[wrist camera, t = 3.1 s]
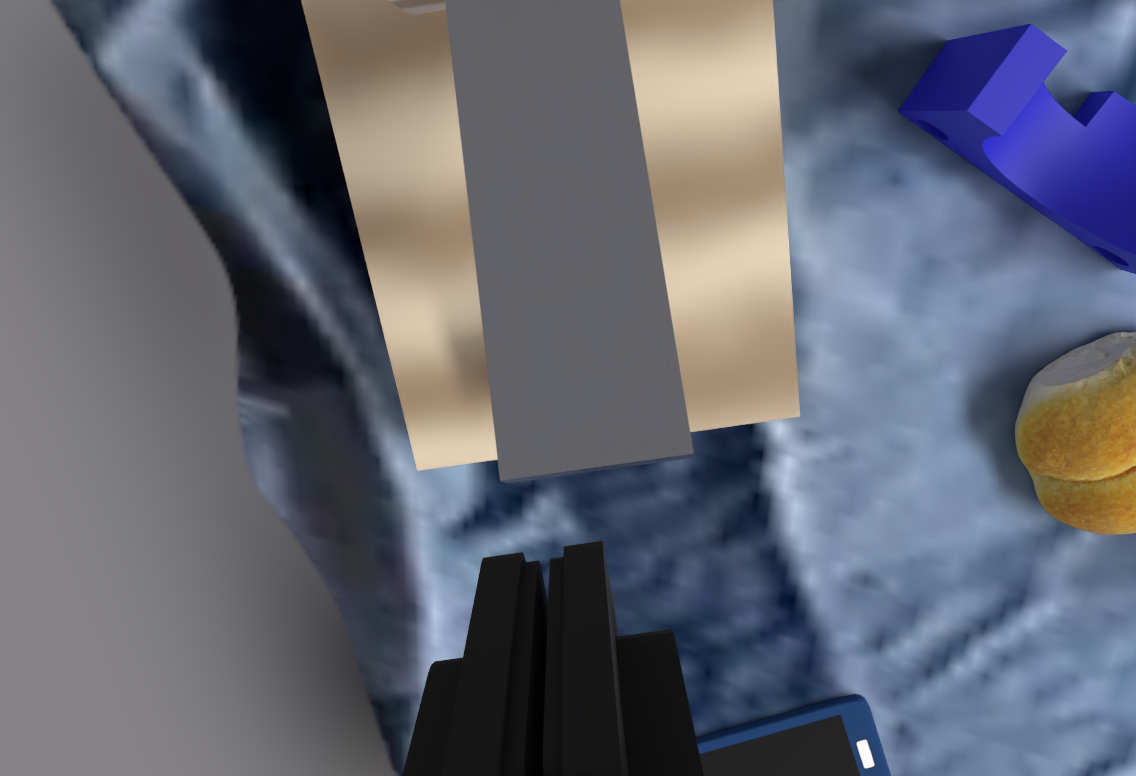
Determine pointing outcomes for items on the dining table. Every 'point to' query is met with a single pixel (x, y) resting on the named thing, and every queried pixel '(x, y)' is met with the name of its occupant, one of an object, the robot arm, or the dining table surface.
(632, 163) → the grey flat bar
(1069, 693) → the dining table surface
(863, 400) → the dining table surface
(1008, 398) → the dining table surface
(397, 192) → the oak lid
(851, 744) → the cell phone
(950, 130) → the cable clip
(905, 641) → the dining table surface
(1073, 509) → the bread roll
